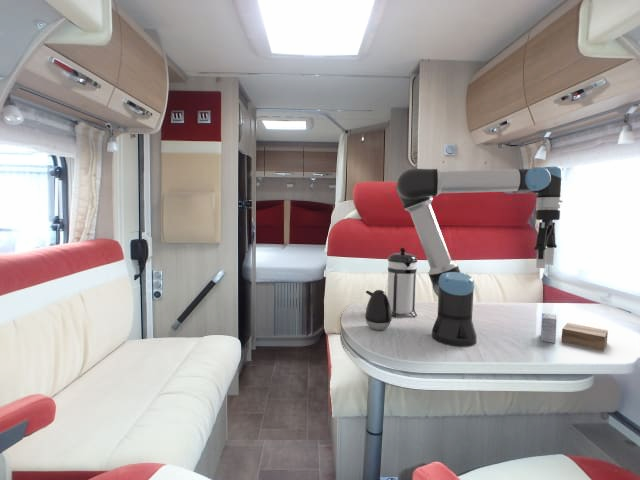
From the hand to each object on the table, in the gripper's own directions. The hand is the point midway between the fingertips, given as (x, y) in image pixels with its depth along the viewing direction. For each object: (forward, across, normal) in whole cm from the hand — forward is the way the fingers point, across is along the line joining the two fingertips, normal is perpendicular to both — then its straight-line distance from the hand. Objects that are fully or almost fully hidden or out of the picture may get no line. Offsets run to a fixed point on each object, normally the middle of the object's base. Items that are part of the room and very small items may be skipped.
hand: (545, 266), depth 133 cm
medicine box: (+26, -4, -3) cm, 27 cm away
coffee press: (+26, -14, +53) cm, 61 cm away
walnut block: (+27, +2, -13) cm, 30 cm away
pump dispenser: (+26, -39, +48) cm, 67 cm away
